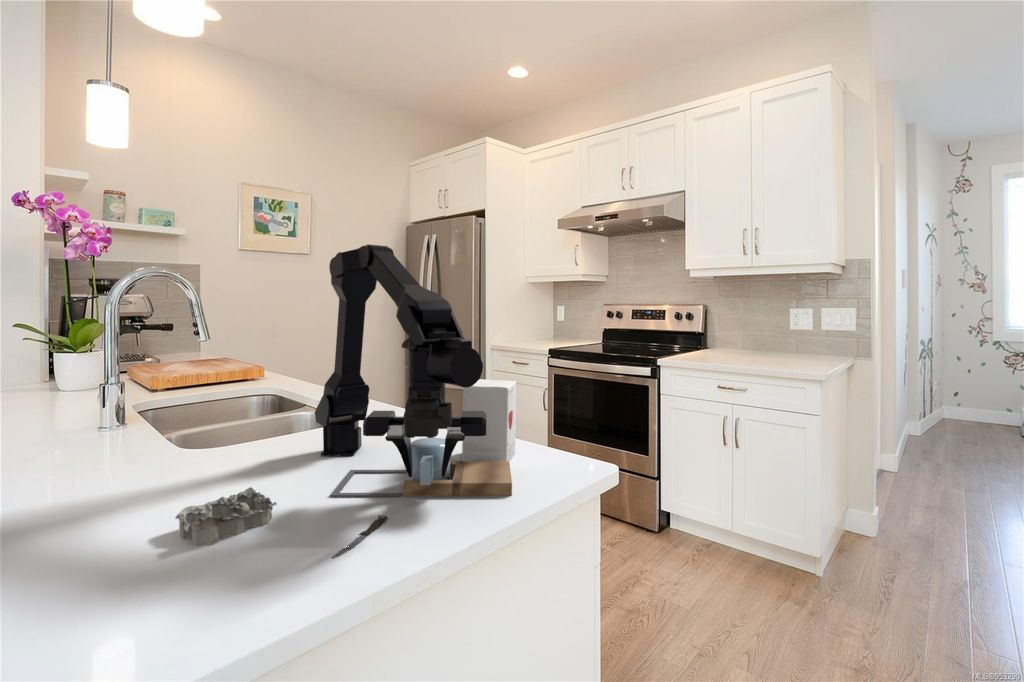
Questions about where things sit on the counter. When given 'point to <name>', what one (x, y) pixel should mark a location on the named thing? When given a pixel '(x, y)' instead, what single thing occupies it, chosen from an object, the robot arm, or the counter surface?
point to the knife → (363, 535)
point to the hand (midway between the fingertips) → (426, 476)
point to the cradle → (467, 480)
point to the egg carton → (224, 517)
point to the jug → (428, 460)
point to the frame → (345, 480)
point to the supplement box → (491, 420)
